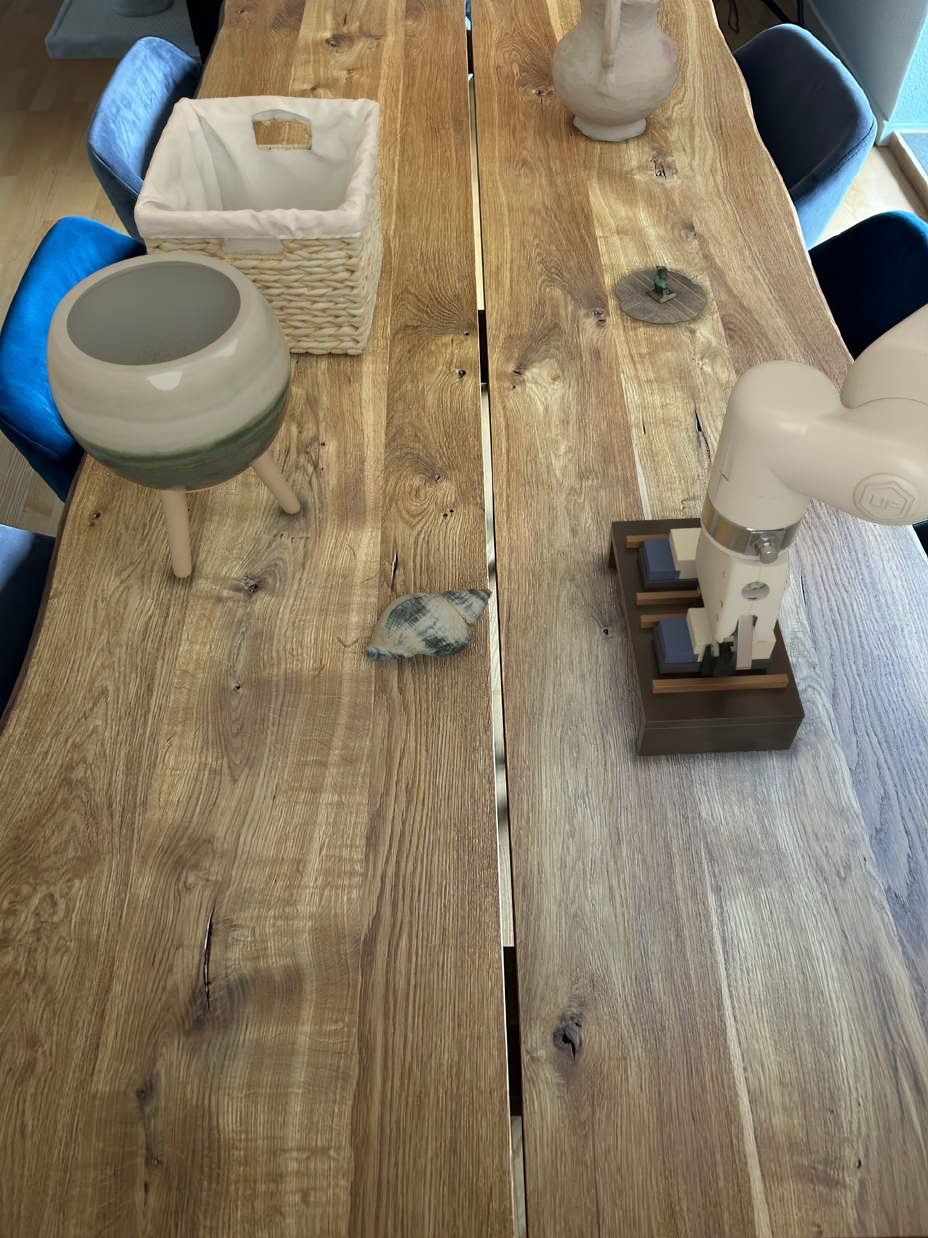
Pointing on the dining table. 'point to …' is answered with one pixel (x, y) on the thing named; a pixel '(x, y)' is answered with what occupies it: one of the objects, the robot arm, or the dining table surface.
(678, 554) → the two-tone stepped block
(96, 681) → the dining table surface
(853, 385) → the robot arm
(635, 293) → the sculpture
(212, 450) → the planter
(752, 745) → the shoe rack
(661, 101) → the ceramic pitcher
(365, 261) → the basket
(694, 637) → the blue cream block
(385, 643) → the seashell
